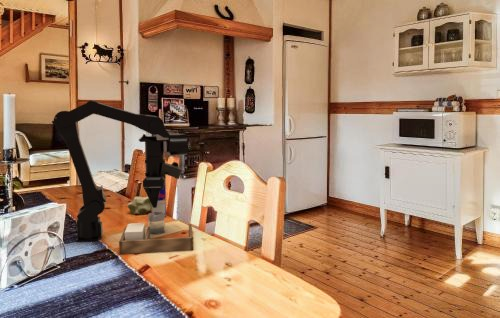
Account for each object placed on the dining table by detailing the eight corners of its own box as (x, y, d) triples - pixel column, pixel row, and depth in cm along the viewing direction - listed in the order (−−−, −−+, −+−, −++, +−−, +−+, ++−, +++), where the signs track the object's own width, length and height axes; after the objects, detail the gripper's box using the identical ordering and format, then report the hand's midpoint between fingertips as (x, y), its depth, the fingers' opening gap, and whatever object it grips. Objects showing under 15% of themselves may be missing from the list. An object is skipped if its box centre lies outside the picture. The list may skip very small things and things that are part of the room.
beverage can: (162, 219, 147) (161, 178, 145) (149, 218, 148) (148, 177, 146) (168, 215, 152) (167, 175, 150) (155, 214, 153) (154, 175, 151)
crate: (119, 254, 111) (119, 241, 110) (125, 238, 125) (125, 227, 124) (193, 249, 114) (193, 237, 114) (191, 234, 128) (191, 224, 128)
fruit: (157, 214, 158) (159, 195, 156) (140, 222, 151) (140, 202, 148) (141, 207, 163) (142, 188, 160) (122, 214, 155) (123, 194, 153)
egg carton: (125, 251, 114) (124, 232, 113) (128, 241, 122) (128, 223, 122) (142, 250, 114) (142, 231, 114) (145, 240, 123) (144, 222, 123)
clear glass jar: (147, 235, 128) (147, 216, 127) (149, 230, 133) (148, 212, 132) (164, 234, 129) (164, 215, 128) (164, 229, 134) (164, 211, 133)
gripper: (180, 158, 120) (181, 210, 122) (180, 152, 139) (180, 197, 140) (142, 159, 118) (143, 211, 120) (146, 152, 137) (147, 198, 138)
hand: (155, 204), depth 130 cm, fingers open, 9 cm apart
